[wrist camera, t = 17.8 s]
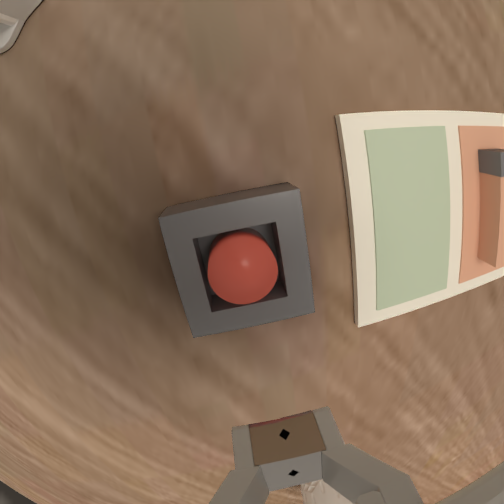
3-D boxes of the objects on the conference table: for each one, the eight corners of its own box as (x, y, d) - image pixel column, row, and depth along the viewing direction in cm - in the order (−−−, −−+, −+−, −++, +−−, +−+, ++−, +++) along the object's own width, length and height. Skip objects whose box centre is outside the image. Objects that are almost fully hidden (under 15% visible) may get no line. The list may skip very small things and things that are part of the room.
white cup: (349, 449, 39) (370, 500, 30) (337, 475, 42) (353, 521, 32) (298, 458, 38) (313, 513, 29) (291, 482, 41) (303, 532, 31)
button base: (195, 313, 29) (193, 337, 25) (166, 207, 25) (158, 218, 21) (302, 291, 29) (315, 312, 25) (287, 182, 26) (299, 188, 22)
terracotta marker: (476, 257, 29) (496, 268, 26) (477, 149, 25) (500, 152, 22) (496, 251, 29) (515, 260, 26) (497, 148, 25) (519, 151, 22)
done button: (216, 289, 27) (216, 310, 23) (202, 233, 25) (200, 247, 22) (274, 277, 27) (282, 296, 24) (264, 220, 25) (272, 232, 22)
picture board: (354, 322, 31) (359, 328, 30) (334, 115, 24) (340, 114, 23) (507, 269, 32) (513, 272, 31) (509, 114, 25) (516, 114, 24)
